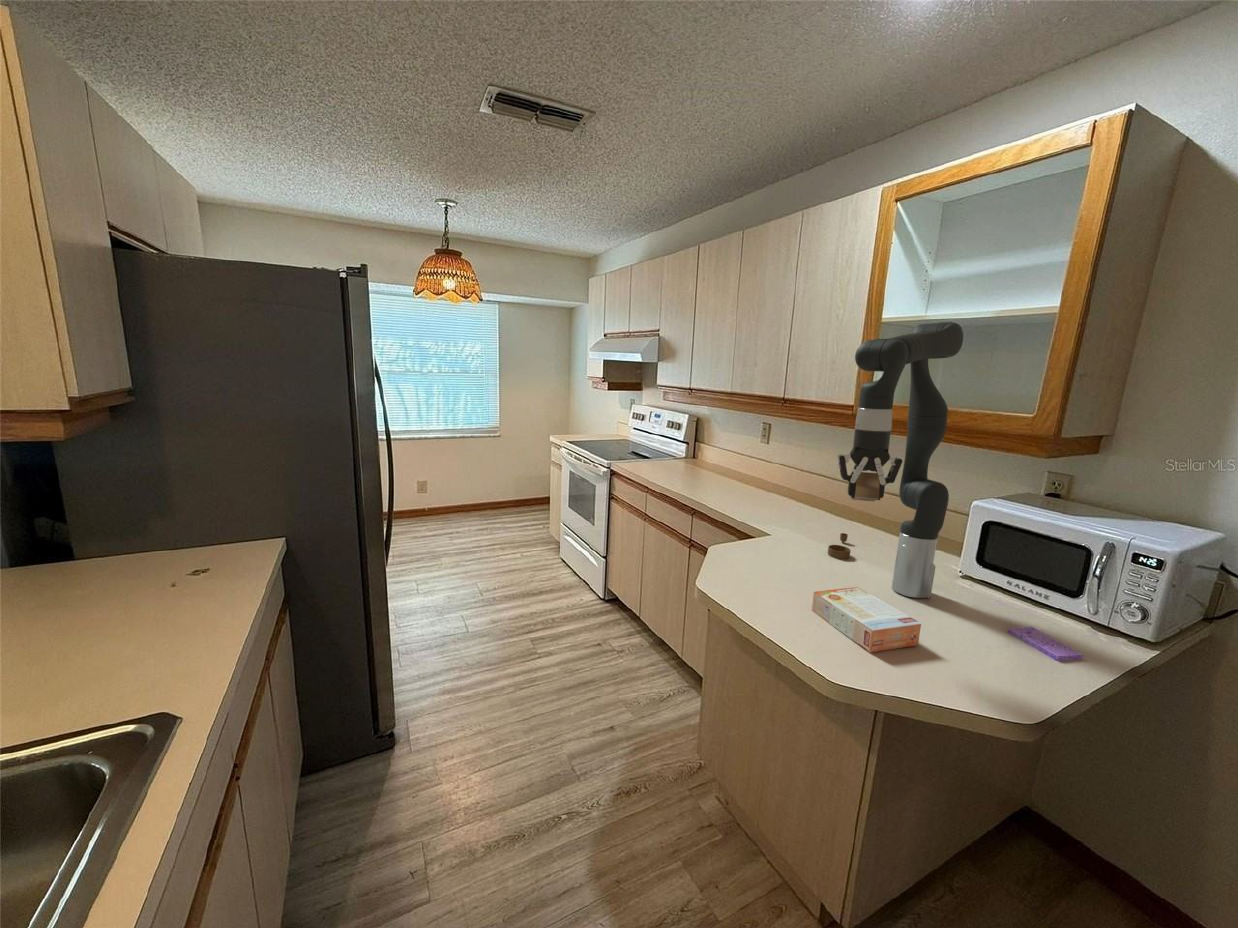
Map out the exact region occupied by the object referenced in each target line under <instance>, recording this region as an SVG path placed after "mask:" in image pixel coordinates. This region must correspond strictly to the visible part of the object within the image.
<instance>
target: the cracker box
mask: <svg viewBox="0 0 1238 928" xmlns="http://www.w3.org/2000/svg"><path fill="white" fill-rule="evenodd" d="M812 598H813V599H812V608H811V611H812V612H813V613H815V614H816V615H817V616H818V617H820V618H821V619H823V620H824V621H825V622H827V623H828V624H829V625H831V626H832V627H834V628H835V629H836V630H838V631H839V632H841V633H842V634H843V635H845V636H846V637H848V638H849V639H851V640H852V641H853V642H854V643H856V644H857V645H858V646H861V648H863V649H865V650H866V651H867V652H869V653H874V652H883V651H889V650H895V649H900V648H907V647H914V646H916V647H917V646H918V645H919V643H920V642H919V641H920V634H921V627H922V623H921V622H920V621H918V620H917V619H915V618H913V617H911V616H909V615H907V614H905V613H904V612H902V611H900V610H898V609H897V608H896V607H893V606H891V605H890V604H888V603H886V602H884V601H883V600H882V599H879V598H878V597H875V596H874V595H872V594H870V593H868V592H867V591H865V590H864V589H862V588H860V587H858V586H855V587H845V588H836V589H827V590H816V591H814V592H813V597H812Z"/></svg>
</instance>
